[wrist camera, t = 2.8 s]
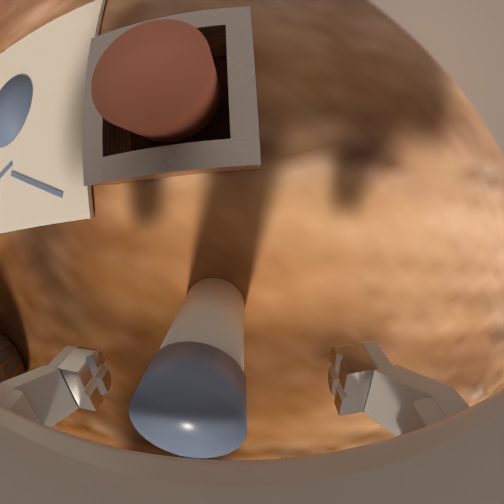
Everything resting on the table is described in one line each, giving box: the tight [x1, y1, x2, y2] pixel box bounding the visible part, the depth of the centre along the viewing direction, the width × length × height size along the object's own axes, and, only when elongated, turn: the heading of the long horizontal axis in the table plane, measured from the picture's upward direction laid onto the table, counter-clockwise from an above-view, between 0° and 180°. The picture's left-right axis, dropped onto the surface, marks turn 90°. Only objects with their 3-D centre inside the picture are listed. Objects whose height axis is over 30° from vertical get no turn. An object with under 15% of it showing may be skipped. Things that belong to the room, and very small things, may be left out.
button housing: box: [82, 6, 261, 186], centre depth 10 cm, size 7×7×3 cm
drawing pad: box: [0, 0, 106, 233], centre depth 11 cm, size 14×14×1 cm
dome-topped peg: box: [129, 278, 247, 458], centre depth 10 cm, size 3×3×8 cm
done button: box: [91, 19, 221, 143], centre depth 8 cm, size 4×4×3 cm
